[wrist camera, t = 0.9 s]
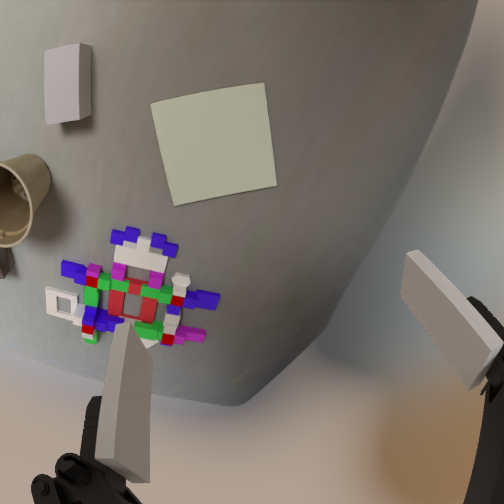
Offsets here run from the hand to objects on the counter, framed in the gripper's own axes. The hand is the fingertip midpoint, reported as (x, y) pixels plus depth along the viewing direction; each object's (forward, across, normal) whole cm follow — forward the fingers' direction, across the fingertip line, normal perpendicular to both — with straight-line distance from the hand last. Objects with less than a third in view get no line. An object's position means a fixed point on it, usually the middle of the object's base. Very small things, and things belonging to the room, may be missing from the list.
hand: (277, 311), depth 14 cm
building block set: (+25, -17, -14) cm, 33 cm away
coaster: (+24, -1, +3) cm, 24 cm away
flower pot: (+24, -24, +6) cm, 34 cm away
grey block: (+24, -14, +14) cm, 32 cm away
